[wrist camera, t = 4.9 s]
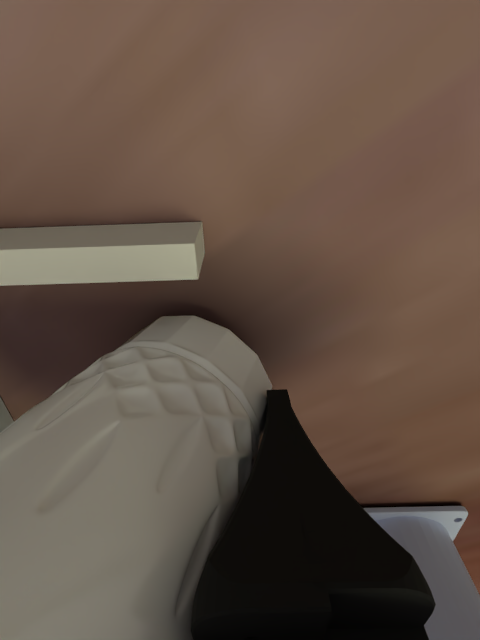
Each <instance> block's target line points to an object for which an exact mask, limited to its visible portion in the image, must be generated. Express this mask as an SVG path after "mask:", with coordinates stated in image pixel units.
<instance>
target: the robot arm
mask: <svg viewBox="0 0 480 640" xmlns="http://www.w3.org/2000/svg"><path fill="white" fill-rule="evenodd" d="M266 398H267V412H266V423H265V428H264V432H263V436H262V440H261V443H260V447H259V450H258V453H257V456H256V459H255V462H254V465H253V468H252V470H251V473H250V475H249V478H248V480H247V483H246V485H245V487H244V490H243V492H242V494H241V496H240V498H239V501H238V503H237V505H236V507H235V509H234V511H233V513H232V515H231V516H230V518H229V520H228V522H227V524H226V526H225V528H224V530H223V532H222V533H221V535H220V537H219V538H218V540H217V542H216V543H215V545H214V547H213V549H212V550H211V552H210V554H209V555H208V557H207V560H206V563H205V566H204V569H203V571H202V574H201V577H200V580H199V582H198V586H197V589H196V592H195V596H194V601H193V606H192V619H191V634H192V637H193V640H480V595H479V593H478V591H477V589H476V587H475V585H474V583H473V581H472V579H471V577H470V575H469V573H468V571H467V569H466V567H465V565H464V563H463V561H462V559H461V557H460V555H459V553H458V551H457V549H456V547H455V545H454V543H453V540H454V538H455V537H456V535H457V533H458V531H459V530H460V528H461V526H462V525H463V523H464V521H465V519H466V518H467V516H468V512H467V510H466V508H465V507H463V506H423V507H376V508H362V506H361V505H360V504H359V503H358V502H357V501H356V500H355V499H354V498H353V497H352V496H351V494H350V493H349V492H348V491H347V490H346V489H345V488H344V486H343V485H342V484H341V483H340V481H339V480H338V479H337V478H336V476H335V475H334V474H333V473H332V471H331V470H330V469H329V467H328V466H327V465H326V463H325V462H324V461H323V459H322V458H321V456H320V455H319V453H318V452H317V450H316V449H315V447H314V446H313V444H312V443H311V441H310V440H309V438H308V436H307V435H306V433H305V431H304V430H303V428H302V426H301V425H300V423H299V421H298V419H297V417H296V415H295V413H294V411H293V409H292V407H291V403H290V399H289V395H288V392H287V390H267V397H266Z"/></svg>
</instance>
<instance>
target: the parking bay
mask: <svg viewBox="0 0 480 640" xmlns="http://www.w3.org/2000/svg"><path fill="white" fill-rule="evenodd" d="M204 254H205V248H204V237H203V226H202V222H178V223H149V224H120V225H90V226H61V227H32V228H2V229H0V286H6V285H38V284H70V283H102V282H133V281H165V280H197V279H198V278H199V274H200V270H201V266H202V262H203V258H204ZM13 422H14V421H13V419H12V417H11V415H10V414H9V412H8V410H7V408H6V406H5V404H4V403H3V401H2V399H1V397H0V432H2V431H3V430H4V429H5V428H7V427H8V426H9V425H11V424H12V423H13Z"/></svg>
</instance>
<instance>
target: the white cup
mask: <svg viewBox="0 0 480 640" xmlns="http://www.w3.org/2000/svg"><path fill="white" fill-rule="evenodd" d="M267 390H272V384H271V382H270V380H269V378H268V376H267V374H266V371H265V369H264V367H263V365H262V363H261V361H260V359H259V357H258V355H257V354H256V353H255V352H254V351H253V350H252V349H250V348H249V347H248V346H247V345H246V344H245V343H244V342H243V341H242V340H240V339H239V338H238V337H237V336H236V335H235V334H234V333H233V332H232V331H230V330H229V329H227V328H225V327H222V326H220V325H217V324H215V323H212V322H210V321H207V320H205V319H202V318H200V317H197V316H194V315H189V316H162V317H160V318H158V319H157V320H155V321H154V322H152V323H151V324H149V325H148V326H146V327H145V328H143V329H142V330H140V331H139V332H138V333H136V334H135V335H134V336H133V337H131V338H130V339H129V340H128V341H126V342H125V343H124V344H123V345H121V346H120V347H119V348H117V349H116V350H115V351H113V352H111V353H108V354H105V355H103V356H102V357H100V358H99V359H98V360H96V361H95V362H94V363H93V364H92V365H90V366H89V367H88V368H87V369H86V370H84V371H83V372H81V373H80V374H78V375H76V376H75V377H73V378H72V379H70V380H69V381H68V382H67V383H65V384H64V385H63V386H62V387H60V388H59V389H58V390H57V391H56V392H54V393H53V394H52V395H51V396H50V397H49V398H47V399H45V400H44V401H42V402H40V403H39V404H37V405H36V406H34V407H33V408H31V409H30V410H28V411H27V412H26V413H24V414H23V415H22V416H21V417H19V418H18V419H17V420H16V421H14V422H13V423H12V424H11V425H9V426H8V427H7V428H5V429H4V430H3V431H2V432H0V640H193V637H192V634H191V619H192V606H193V601H194V596H195V592H196V589H197V586H198V582H199V580H200V577H201V574H202V571H203V569H204V566H205V563H206V560H207V557H208V555H209V554H210V552H211V550H212V549H213V547H214V545H215V543H216V542H217V540H218V538H219V537H220V535H221V533H222V532H223V530H224V528H225V526H226V524H227V522H228V520H229V518H230V516H231V515H232V513H233V511H234V509H235V507H236V505H237V503H238V501H239V498H240V496H241V494H242V492H243V490H244V487H245V485H246V483H247V480H248V478H249V475H250V473H251V470H252V468H253V465H254V462H255V459H256V456H257V453H258V450H259V447H260V443H261V440H262V436H263V432H264V428H265V423H266V412H267V398H266V397H267Z"/></svg>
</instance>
